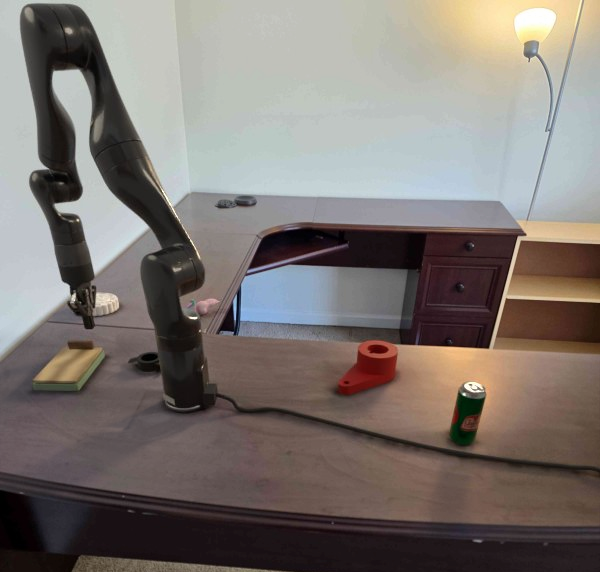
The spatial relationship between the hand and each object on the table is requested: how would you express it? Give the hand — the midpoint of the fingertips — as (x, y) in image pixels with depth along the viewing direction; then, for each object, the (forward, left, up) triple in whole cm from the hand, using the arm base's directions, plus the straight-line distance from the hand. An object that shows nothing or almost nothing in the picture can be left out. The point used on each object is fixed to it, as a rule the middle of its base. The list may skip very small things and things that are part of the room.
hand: (90, 328), depth 127 cm
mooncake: (+9, -27, -6) cm, 29 cm away
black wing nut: (-17, +10, -6) cm, 21 cm away
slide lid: (+1, +13, -4) cm, 14 cm away
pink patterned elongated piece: (-23, -24, -6) cm, 33 cm away
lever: (-69, +14, -6) cm, 71 cm away
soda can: (-86, +37, -6) cm, 94 cm away
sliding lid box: (+1, +13, -6) cm, 15 cm away
